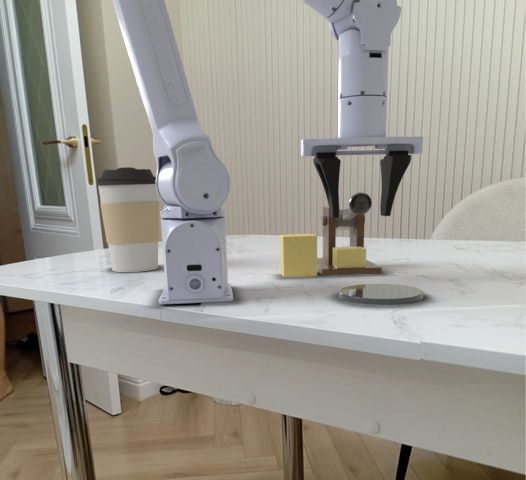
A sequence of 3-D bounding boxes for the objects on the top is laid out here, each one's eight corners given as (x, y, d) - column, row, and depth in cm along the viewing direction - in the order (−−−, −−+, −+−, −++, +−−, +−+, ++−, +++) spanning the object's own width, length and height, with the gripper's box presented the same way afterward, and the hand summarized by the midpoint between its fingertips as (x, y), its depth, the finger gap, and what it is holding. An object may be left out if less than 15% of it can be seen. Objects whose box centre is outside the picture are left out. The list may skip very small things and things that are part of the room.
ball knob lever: (374, 212, 72) (373, 189, 72) (352, 212, 72) (351, 189, 72) (351, 231, 85) (350, 211, 85) (331, 231, 84) (330, 212, 84)
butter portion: (317, 277, 79) (317, 235, 77) (283, 278, 79) (283, 236, 77) (313, 273, 82) (313, 233, 80) (281, 275, 81) (280, 234, 80)
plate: (435, 304, 60) (436, 296, 60) (349, 308, 60) (349, 300, 59) (407, 289, 69) (407, 282, 69) (331, 292, 68) (331, 285, 68)
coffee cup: (167, 271, 88) (160, 165, 83) (104, 274, 86) (94, 166, 81) (162, 263, 96) (155, 167, 92) (105, 266, 94) (95, 168, 90)
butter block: (365, 267, 80) (366, 248, 79) (336, 268, 79) (336, 249, 79) (360, 264, 82) (360, 246, 82) (332, 265, 82) (332, 247, 81)
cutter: (381, 274, 80) (383, 207, 77) (322, 277, 79) (322, 209, 76) (359, 262, 91) (360, 204, 89) (308, 264, 90) (308, 205, 88)
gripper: (411, 102, 74) (406, 213, 78) (296, 104, 73) (297, 216, 77) (431, 94, 67) (425, 216, 71) (305, 96, 66) (306, 219, 70)
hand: (360, 216), depth 74 cm, fingers open, 6 cm apart
